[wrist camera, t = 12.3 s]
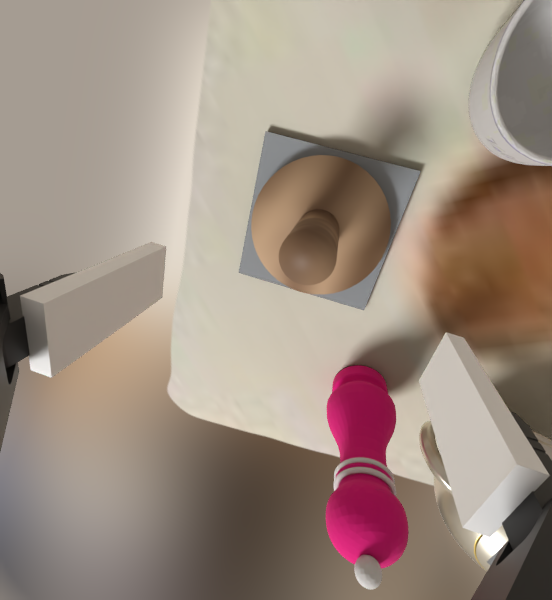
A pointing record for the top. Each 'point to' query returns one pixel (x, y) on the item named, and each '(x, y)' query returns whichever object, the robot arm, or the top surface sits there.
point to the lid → (321, 224)
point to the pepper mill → (364, 476)
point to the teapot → (468, 540)
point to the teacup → (516, 88)
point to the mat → (388, 176)
